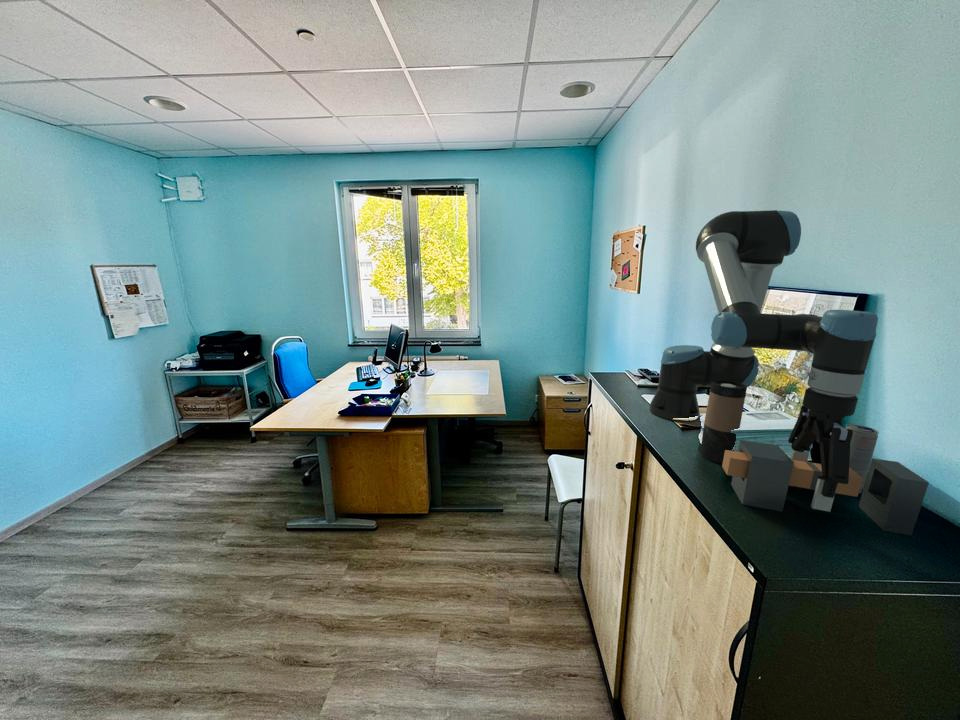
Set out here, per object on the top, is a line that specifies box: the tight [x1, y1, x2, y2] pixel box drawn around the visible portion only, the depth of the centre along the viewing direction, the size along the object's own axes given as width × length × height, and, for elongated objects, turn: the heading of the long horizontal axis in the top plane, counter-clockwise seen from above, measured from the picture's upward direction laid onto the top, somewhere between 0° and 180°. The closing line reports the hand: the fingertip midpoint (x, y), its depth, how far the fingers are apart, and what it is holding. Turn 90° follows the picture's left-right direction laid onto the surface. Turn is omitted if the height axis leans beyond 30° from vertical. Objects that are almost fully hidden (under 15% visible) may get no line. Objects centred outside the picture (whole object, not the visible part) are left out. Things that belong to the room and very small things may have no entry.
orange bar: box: [721, 450, 863, 497], centre depth 78 cm, size 4×22×4 cm, turn 71°
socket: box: [858, 457, 930, 537], centre depth 73 cm, size 8×4×11 cm, turn 161°
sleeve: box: [730, 439, 794, 513], centre depth 80 cm, size 8×7×11 cm
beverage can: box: [844, 423, 880, 494], centre depth 83 cm, size 5×5×15 cm
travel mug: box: [700, 380, 748, 464], centre depth 96 cm, size 8×8×20 cm
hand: (806, 493), depth 77 cm, fingers open, 11 cm apart
